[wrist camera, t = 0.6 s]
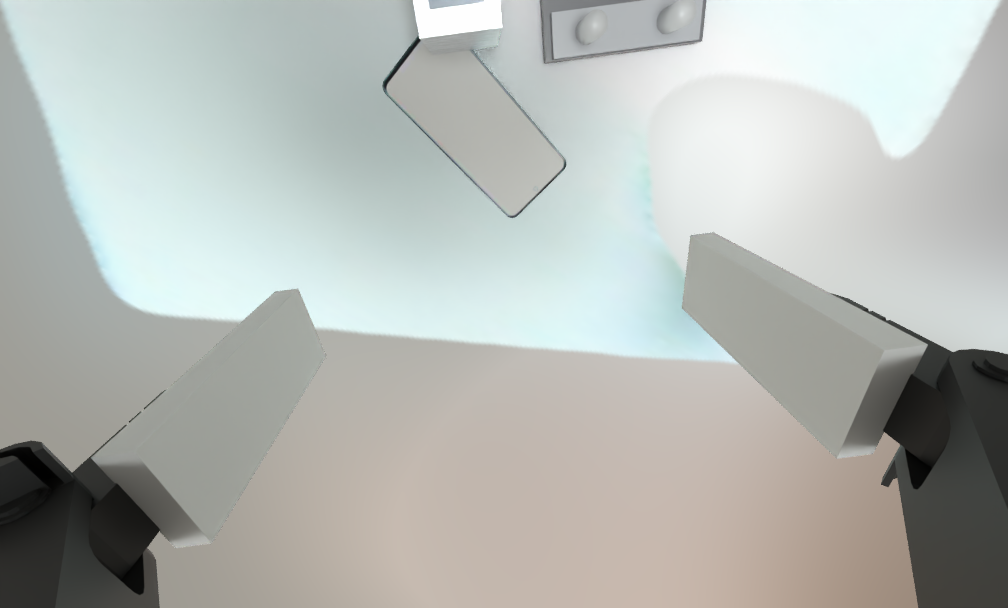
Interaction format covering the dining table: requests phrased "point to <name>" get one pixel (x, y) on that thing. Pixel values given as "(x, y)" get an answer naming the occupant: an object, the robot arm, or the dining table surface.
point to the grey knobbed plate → (617, 26)
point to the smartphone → (475, 124)
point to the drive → (458, 24)
